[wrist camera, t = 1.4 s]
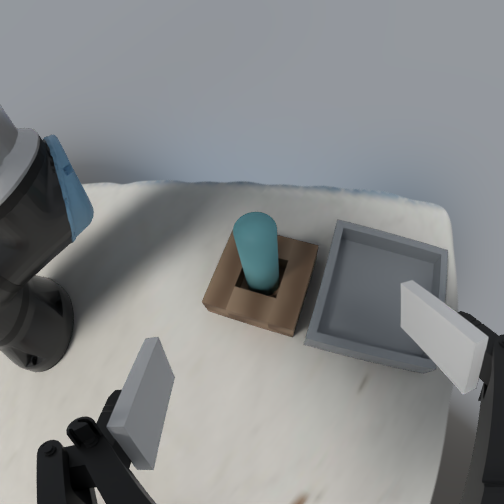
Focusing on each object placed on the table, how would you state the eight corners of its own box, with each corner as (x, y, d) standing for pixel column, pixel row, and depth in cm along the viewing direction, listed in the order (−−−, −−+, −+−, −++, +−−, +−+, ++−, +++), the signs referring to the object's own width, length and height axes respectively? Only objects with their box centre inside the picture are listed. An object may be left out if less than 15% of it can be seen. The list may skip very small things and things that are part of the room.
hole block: (208, 311, 39) (201, 301, 36) (238, 238, 44) (235, 224, 41) (292, 337, 36) (293, 330, 33) (316, 258, 41) (318, 245, 38)
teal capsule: (242, 291, 39) (226, 242, 28) (253, 263, 40) (241, 207, 30) (273, 300, 38) (268, 253, 27) (283, 271, 39) (282, 217, 29)
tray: (303, 344, 36) (305, 338, 33) (334, 233, 43) (337, 219, 39) (423, 373, 32) (435, 369, 29) (437, 261, 39) (447, 250, 36)
